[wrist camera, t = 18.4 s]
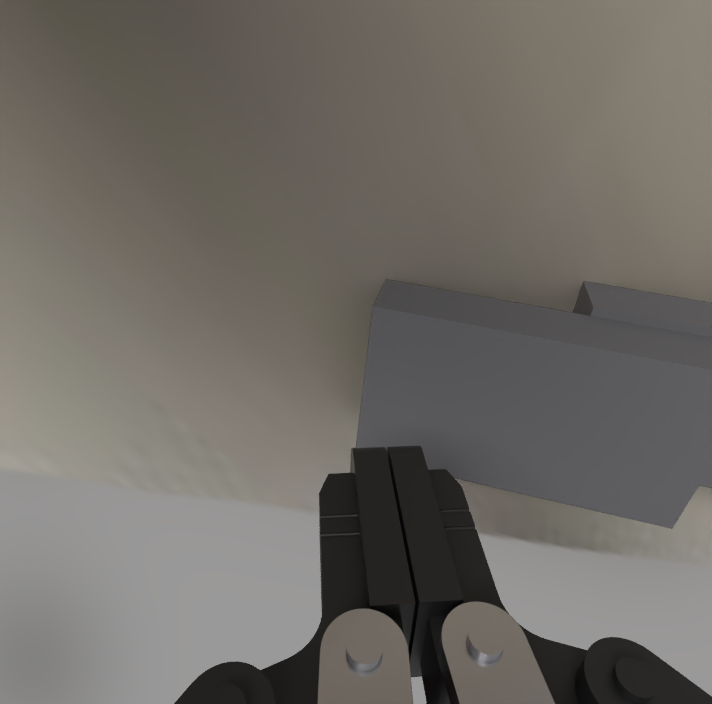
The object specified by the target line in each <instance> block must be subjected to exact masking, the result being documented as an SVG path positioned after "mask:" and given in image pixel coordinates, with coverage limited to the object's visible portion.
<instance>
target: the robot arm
mask: <svg viewBox="0 0 712 704" xmlns="http://www.w3.org/2000/svg"><path fill="white" fill-rule="evenodd" d="M319 514H320V561H321V562H320V563H321V599H322V618H321V622H320V625H319V628H318V630H317V632H316V634H315V635H314V637H313V638H312V640H311V641H310V642H309V643H308V644H307V645H306V646H305V647H304V648H303V649H302V650H301V651H299V652H298V653H297V654H295V655H293V656H291V657H289V658H288V659H285V660H283V661H281V662H278V663H276V664H274V665H272V666H269V667H268V668H265V669H262V670H259V669H257V668H256V667H254V666H252V665H250V664H247V663H243V662H227V663H222V664H219V665H216V666H214V667H212V668H210V669H209V670H207V671H205V672H204V673H203V674H201V675H200V676H199V677H198V678H197V679H196V680H195V681H194V682H193V683H192V684H191V685H190V686H189V687H188V688H187V690H186V691H185V692H184V693H183V694H182V695H181V696H180V698H179V699H178V700H177V701H176V702H175V703H174V704H413V696H412V686H411V677H418V676H422V679H423V684H424V690H425V695H426V701H427V703H426V704H712V697H711V696H710V695H709V694H707V693H706V692H705V691H703V690H702V689H701V688H699V687H698V686H697V685H695V684H694V683H693V682H691V681H690V680H688V679H687V678H686V677H684V676H683V675H682V674H680V673H679V672H678V671H676V670H675V669H674V668H672V667H671V666H669V665H668V664H667V663H666V662H664V661H663V660H661V659H660V658H659V657H657V656H656V655H654V654H653V653H652V652H651V651H649V650H647V649H646V648H645V647H643V646H641V645H639V644H637V643H635V642H633V641H630V640H627V639H622V638H617V637H609V638H603V639H600V640H598V641H596V642H595V643H593V645H591V647H590V648H589V649H588V650H584V649H580V648H576V647H573V646H569V645H565V644H561V643H558V642H554V641H550V640H547V639H544V638H541V637H539V636H537V635H534V634H532V633H531V632H529V631H527V630H526V629H524V628H523V627H522V626H521V625H519V624H518V623H517V622H516V621H515V620H514V619H513V618H512V617H511V616H510V615H509V613H508V612H507V611H506V609H505V608H504V606H503V604H502V603H501V600H500V598H499V595H498V593H497V590H496V587H495V584H494V581H493V578H492V575H491V572H490V569H489V566H488V563H487V560H486V557H485V554H484V551H483V548H482V545H481V542H480V539H479V536H478V533H477V531H476V530H475V525H474V522H473V519H472V516H471V513H470V512H469V507H468V504H467V501H466V498H465V495H464V492H463V489H462V487H461V485H460V484H459V483H458V482H457V481H456V480H455V479H454V478H453V476H452V475H451V474H450V473H449V472H448V471H447V470H446V469H435V470H428V468H427V464H426V461H425V457H424V453H423V450H422V448H421V446H395V447H387V448H385V447H371V448H352V449H351V468H350V473H338V474H328V476H327V478H326V480H325V482H324V484H323V486H322V489H321V491H320V493H319Z"/></svg>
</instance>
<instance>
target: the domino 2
mask: <svg viewBox="0 0 712 704" xmlns="http://www.w3.org/2000/svg"><path fill="white" fill-rule="evenodd" d="M573 313H577V314H583V315H588V316H594V317H599V318H605V319H610V320H616V321H622V322H627V323H633V324H638V325H644V326H650V327H655V328H661V329H666V330H672V331H678V332H683V333H689V334H694V335H700V336H705V337H711V338H712V303H710V302H704V301H698V300H692V299H686V298H680V297H674V296H668V295H662V294H657V293H651V292H645V291H639V290H633V289H627V288H621V287H615V286H609V285H603V284H598V283H592V282H586V281H584V282H583V284H582V287H581V290H580V293H579V296H578V299H577V302H576V304H575V307H574V310H573ZM699 485H700V486H705V487H710V488H712V465H711V466H710V468H709V470H708V471H707V473H706V474H705V476H704V478H703V479H702V481H701V483H700V484H699Z"/></svg>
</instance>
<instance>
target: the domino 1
mask: <svg viewBox="0 0 712 704" xmlns="http://www.w3.org/2000/svg"><path fill="white" fill-rule="evenodd" d="M395 446H421V448H422V450H423V453H424V457H425V461H426V464H427V468H428V470H435V469H446V470H447V471H448V472H449V473H450V474H451V475H452V476H453V478H456V479H461V480H465V481H469V482H474V483H478V484H482V485H486V486H491V487H495V488H499V489H504V490H508V491H512V492H517V493H521V494H525V495H529V496H534V497H538V498H542V499H547V500H551V501H555V502H560V503H564V504H568V505H573V506H577V507H581V508H585V509H590V510H594V511H598V512H603V513H607V514H611V515H616V516H620V517H624V518H628V519H633V520H637V521H641V522H646V523H650V524H654V525H659V526H663V527H667V528H671V529H672V528H673V526H674V525H675V523H676V522H677V520H678V518H679V517H680V515H681V513H682V512H683V510H684V509H685V507H686V505H687V504H688V502H689V500H690V499H691V497H692V496H693V494H694V492H695V491H696V489H697V487H698V486H699V484H700V483H701V481H702V479H703V478H704V476H705V474H706V473H707V471H708V470H709V468H710V466H711V465H712V338H711V337H705V336H700V335H694V334H689V333H683V332H678V331H672V330H666V329H661V328H655V327H650V326H644V325H638V324H633V323H627V322H622V321H616V320H610V319H605V318H599V317H594V316H588V315H583V314H577V313H571V312H566V311H560V310H555V309H549V308H543V307H538V306H532V305H527V304H521V303H516V302H510V301H504V300H499V299H493V298H488V297H482V296H476V295H471V294H465V293H460V292H454V291H448V290H443V289H437V288H432V287H426V286H421V285H415V284H409V283H404V282H398V281H393V280H387V279H386V280H385V282H384V284H383V286H382V288H381V290H380V292H379V295H378V297H377V299H376V301H375V303H374V305H373V309H372V318H371V326H370V334H369V342H368V351H367V359H366V367H365V375H364V384H363V392H362V400H361V408H360V417H359V425H358V433H357V441H356V448H371V447H385V448H387V447H395Z"/></svg>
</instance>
